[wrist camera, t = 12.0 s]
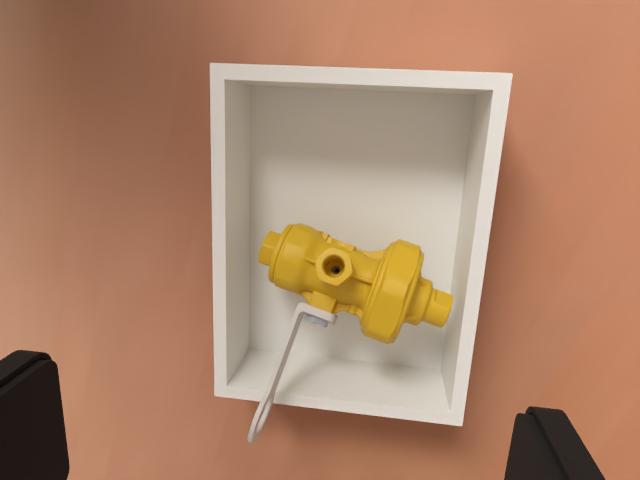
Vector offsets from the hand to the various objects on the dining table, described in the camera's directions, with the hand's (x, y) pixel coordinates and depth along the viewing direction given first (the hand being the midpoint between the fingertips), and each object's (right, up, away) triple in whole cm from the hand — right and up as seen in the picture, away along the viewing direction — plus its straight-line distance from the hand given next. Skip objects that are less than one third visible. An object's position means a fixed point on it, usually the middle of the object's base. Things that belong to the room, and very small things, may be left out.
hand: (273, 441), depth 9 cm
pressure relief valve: (+2, -2, +17) cm, 17 cm away
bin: (+3, +4, +18) cm, 19 cm away
